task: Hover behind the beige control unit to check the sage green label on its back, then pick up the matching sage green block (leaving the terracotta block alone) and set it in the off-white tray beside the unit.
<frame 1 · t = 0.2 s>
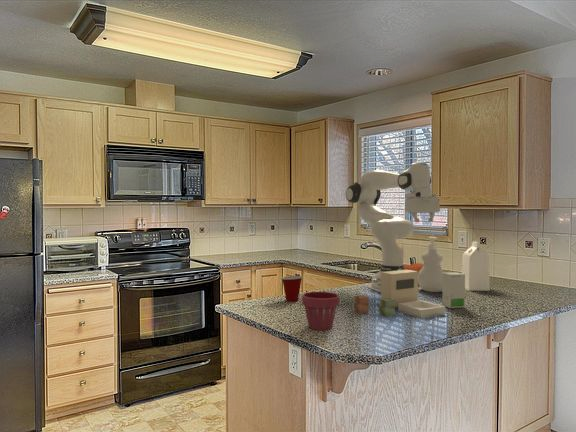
hand: (423, 222, 230), 39 cm above the countertop, tool pointing down, fingers open, 8 cm apart
plant pot: (320, 327, 181), on the countertop
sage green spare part: (386, 315, 199), on the countertop
soap bottle: (431, 291, 251), on the countertop
skincare box: (453, 306, 215), on the countertop
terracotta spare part: (361, 312, 205), on the countertop
control unit: (399, 306, 215), on the countertop
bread: (412, 282, 278), on the countertop
milk: (475, 288, 259), on the countertop
plastic cup: (291, 300, 228), on the countertop
parts tray: (421, 312, 203), on the countertop
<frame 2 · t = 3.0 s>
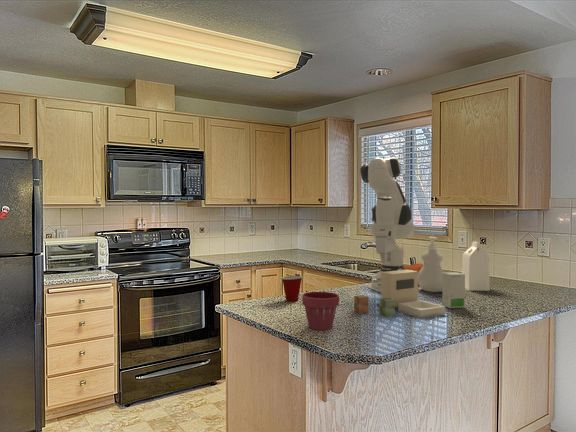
hand: (386, 262, 211), 21 cm above the countertop, tool pointing down, fingers open, 8 cm apart
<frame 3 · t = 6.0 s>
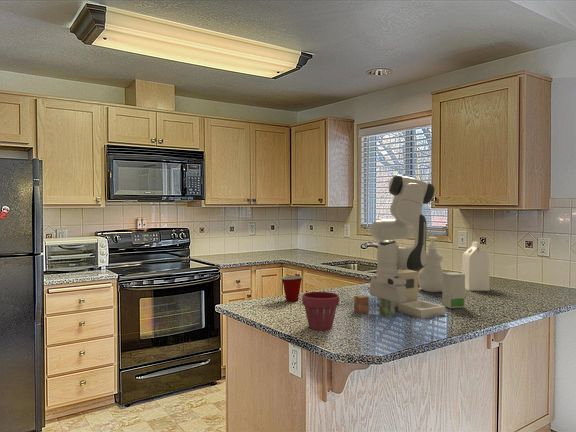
hand: (386, 309, 199), 2 cm above the countertop, tool pointing down, fingers closed on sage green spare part, 4 cm apart
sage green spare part: (386, 315, 199), on the countertop, touching gripper
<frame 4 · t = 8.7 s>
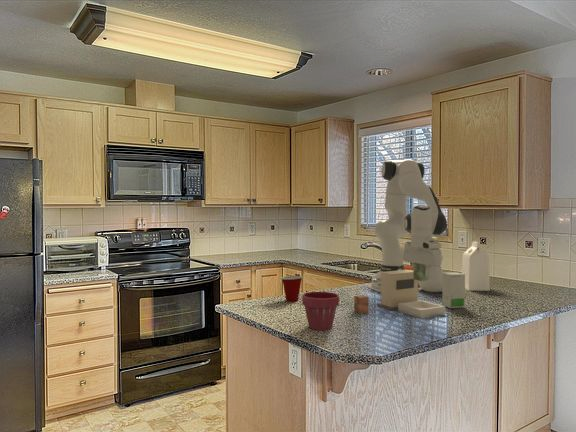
hand: (421, 274, 202), 17 cm above the countertop, tool pointing down, fingers closed on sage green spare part, 4 cm apart
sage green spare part: (420, 279, 203), point 15 cm above the countertop, touching gripper
when the fingers open (5 cm above the countertop, at t = 11.4 s): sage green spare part drops 1 cm, resting on parts tray.
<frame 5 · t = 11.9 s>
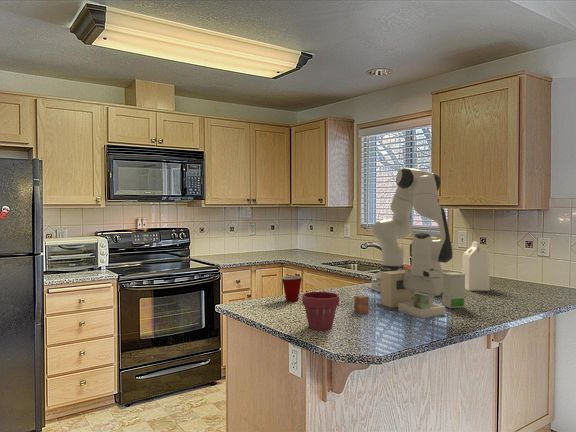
hand: (421, 302, 203), 5 cm above the countertop, tool pointing down, fingers open, 8 cm apart
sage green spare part: (421, 310, 203), point 1 cm above the countertop, touching parts tray
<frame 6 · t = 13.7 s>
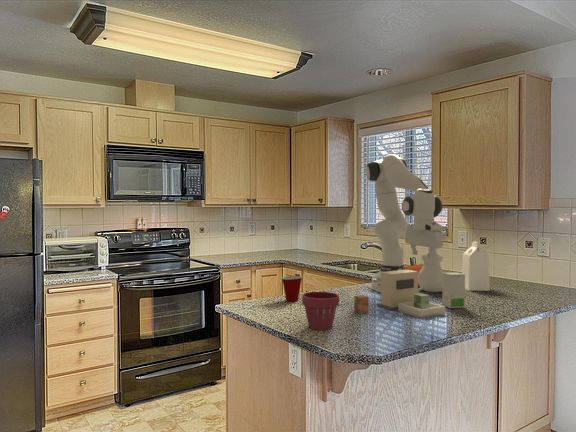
hand: (422, 256, 207), 24 cm above the countertop, tool pointing down, fingers open, 8 cm apart
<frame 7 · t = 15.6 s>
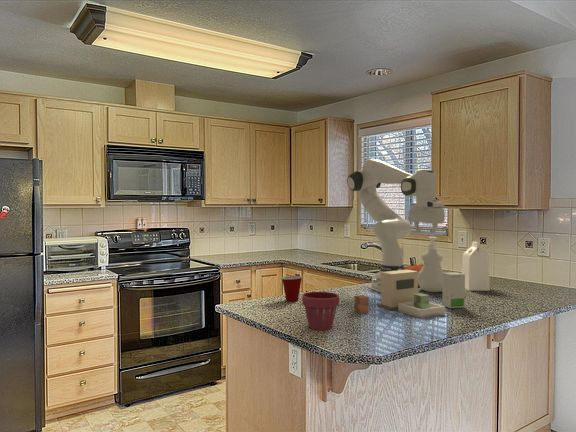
hand: (425, 232, 219), 34 cm above the countertop, tool pointing down, fingers open, 8 cm apart
at the end: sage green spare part inside the target area on the parts tray (0.0 cm from its centre), point 1.0 cm above the parts tray's base; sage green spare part tilted 0°; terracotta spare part moved 0.1 cm from its start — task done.
